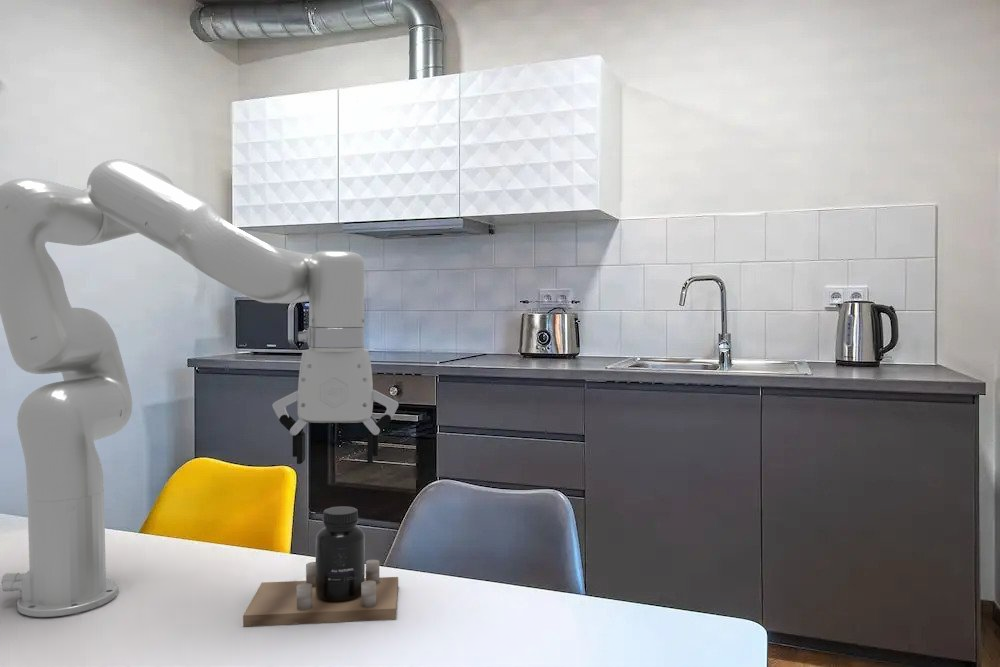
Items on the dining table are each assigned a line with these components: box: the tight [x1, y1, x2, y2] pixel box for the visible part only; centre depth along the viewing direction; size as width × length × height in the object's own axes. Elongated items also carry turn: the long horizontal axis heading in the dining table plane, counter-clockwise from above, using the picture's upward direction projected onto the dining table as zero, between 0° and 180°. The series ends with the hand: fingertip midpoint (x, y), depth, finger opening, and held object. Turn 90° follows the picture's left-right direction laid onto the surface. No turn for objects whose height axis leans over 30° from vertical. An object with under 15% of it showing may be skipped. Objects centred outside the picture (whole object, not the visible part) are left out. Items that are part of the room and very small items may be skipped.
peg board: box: [242, 559, 399, 628], centre depth 107 cm, size 20×12×4 cm, turn 96°
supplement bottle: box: [315, 505, 366, 602], centre depth 107 cm, size 7×7×12 cm
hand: (335, 461), depth 107 cm, fingers open, 9 cm apart
